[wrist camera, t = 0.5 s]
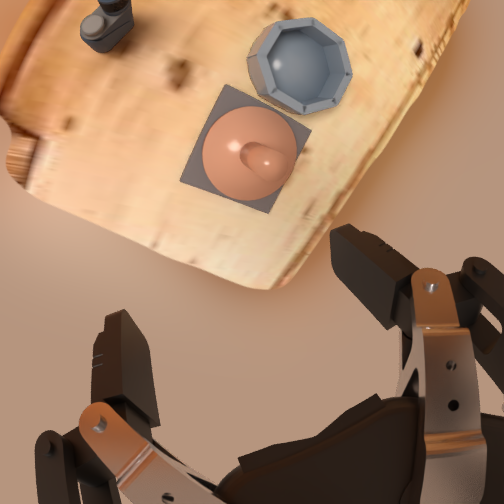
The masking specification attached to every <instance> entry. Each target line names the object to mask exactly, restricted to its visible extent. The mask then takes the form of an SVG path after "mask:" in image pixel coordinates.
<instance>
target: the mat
mask: <svg viewBox="0 0 504 504" xmlns="http://www.w3.org/2000/svg"><path fill="white" fill-rule="evenodd" d="M245 106H255V107H262V108H266V109H269V110H271V111H274V112H275V113H277V114H278V115H280V116H281V117H282V118H283V119H284V120H285V121H286V122H287V123H288V124H289V126H290V127H291V129H292V131H293V133H294V136H295V140H296V146H297V155H296V160H297V158H298V156H299V154H300V152H301V150H302V148H303V146H304V144H305V142H306V140H307V139H308V137H309V135H310V133H311V131H312V130H310V129H308V128H307V127H305V126H303V125H302V124H300V123H298V122H297V121H295V120H293V119H291V118H290V117H288V116H286V115H285V114H283V113H281V112H279V111H277V110H276V109H274V108H272V107H270V106H268V105H266V104H265V103H263V102H261V101H259V100H257V99H255V98H253V97H251V96H249V95H247V94H245V93H243V92H241V91H239V90H237V89H235V88H233V87H231V86H229V85H227V84H226V85H224V87H223V89H222V91H221V93H220V95H219V97H218V99H217V101H216V103H215V105H214V107H213V109H212V111H211V113H210V115H209V117H208V119H207V121H206V123H205V125H204V127H203V129H202V131H201V133H200V135H199V138H198V140H197V142H196V144H195V146H194V148H193V151H192V153H191V155H190V157H189V160H188V162H187V164H186V166H185V169H184V171H183V173H182V176H181V178H180V182H183V183H185V184H188V185H191V186H194V187H197V188H200V189H203V190H205V191H208V192H211V193H214V194H216V195H219V196H222V197H225V198H227V199H230V200H233V201H236V202H238V203H241V204H244V205H246V206H249V207H252V208H254V209H257V210H260V211H262V212H265V213H267V214H269V212H270V210H271V208H272V206H273V204H274V202H275V200H276V198H277V196H278V194H279V192H280V191H281V189H282V187H283V185H284V184H283V185H282V186H281V187H280V188H279V189H278V190H276V191H275V192H273V193H272V194H270V195H268V196H266V197H263V198H261V199H256V200H249V201H247V200H237V199H234V198H231V197H228V196H226V195H225V194H223V193H221V192H220V191H219V190H218V189H217V188H216V187H215V186H214V185H213V184H212V183H211V181H210V180H209V178H208V177H207V175H206V173H205V171H204V167H203V163H202V145H203V141H204V138H205V136H206V134H207V132H208V130H209V128H210V127H211V126H212V124H213V123H214V122H215V121H216V120H217V119H218V118H219V117H220V116H222V115H223V114H225V113H226V112H228V111H230V110H233V109H235V108H239V107H245ZM295 162H296V161H295Z"/></svg>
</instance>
